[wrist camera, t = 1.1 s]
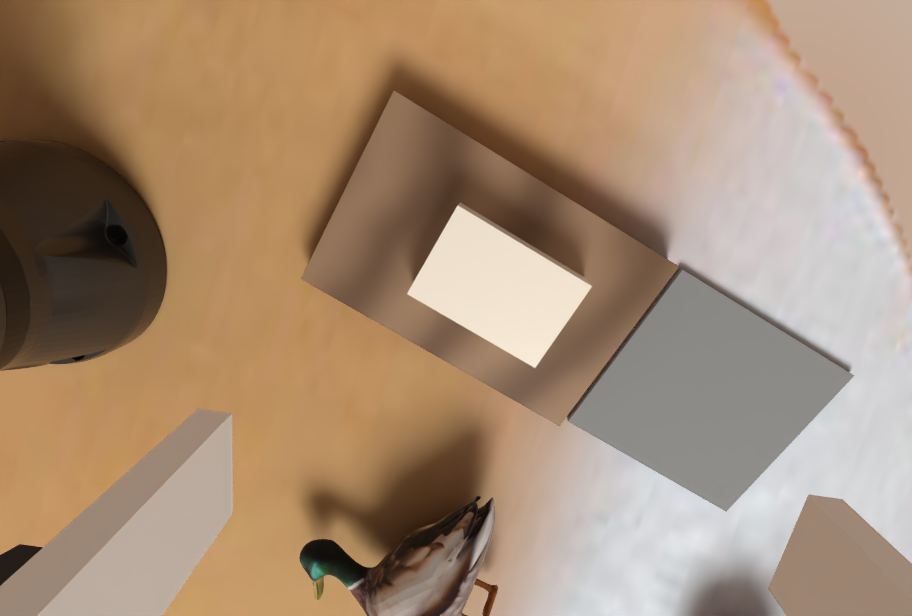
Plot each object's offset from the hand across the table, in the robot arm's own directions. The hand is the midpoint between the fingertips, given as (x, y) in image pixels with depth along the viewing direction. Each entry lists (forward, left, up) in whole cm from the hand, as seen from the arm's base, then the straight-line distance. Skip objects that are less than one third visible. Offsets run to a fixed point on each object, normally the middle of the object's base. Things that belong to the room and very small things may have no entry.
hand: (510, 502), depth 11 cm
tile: (0, 0, -20) cm, 20 cm away
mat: (+17, 0, -22) cm, 28 cm away
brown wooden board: (-1, 0, -22) cm, 22 cm away
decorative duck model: (+5, -20, -23) cm, 31 cm away
